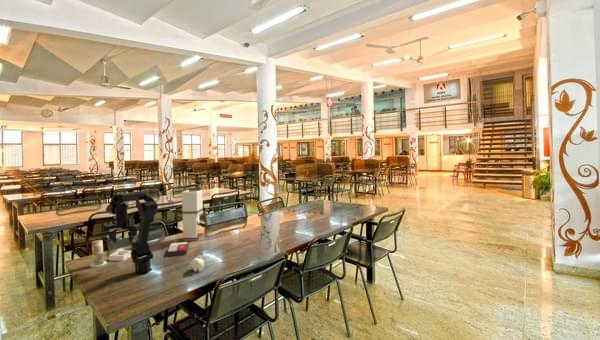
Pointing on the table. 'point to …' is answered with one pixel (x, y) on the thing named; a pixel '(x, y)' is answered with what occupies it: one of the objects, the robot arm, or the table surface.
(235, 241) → the table surface
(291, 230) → the table surface
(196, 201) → the tall white pillar
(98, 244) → the peg
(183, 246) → the calculator
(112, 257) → the pocket
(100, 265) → the coaster
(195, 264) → the white rounded lump
